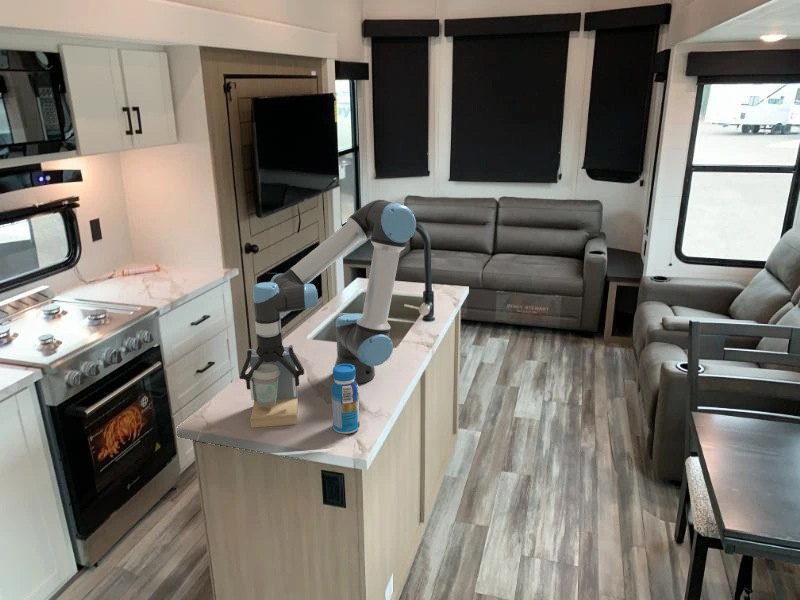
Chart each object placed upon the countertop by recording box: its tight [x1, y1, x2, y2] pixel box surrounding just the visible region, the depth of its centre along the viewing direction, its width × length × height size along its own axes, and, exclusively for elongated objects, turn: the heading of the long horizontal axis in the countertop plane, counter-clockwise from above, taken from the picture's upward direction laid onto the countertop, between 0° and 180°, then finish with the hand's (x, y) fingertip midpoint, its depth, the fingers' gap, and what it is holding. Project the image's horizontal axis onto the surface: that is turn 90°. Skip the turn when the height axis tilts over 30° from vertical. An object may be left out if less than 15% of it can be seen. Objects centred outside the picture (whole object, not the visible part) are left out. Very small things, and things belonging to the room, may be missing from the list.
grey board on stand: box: [249, 352, 299, 429], centre depth 186 cm, size 14×15×18 cm
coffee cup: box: [253, 364, 280, 407], centre depth 185 cm, size 8×9×12 cm
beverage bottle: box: [330, 364, 361, 435], centre depth 178 cm, size 8×8×20 cm
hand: (274, 396), depth 187 cm, fingers open, 12 cm apart
